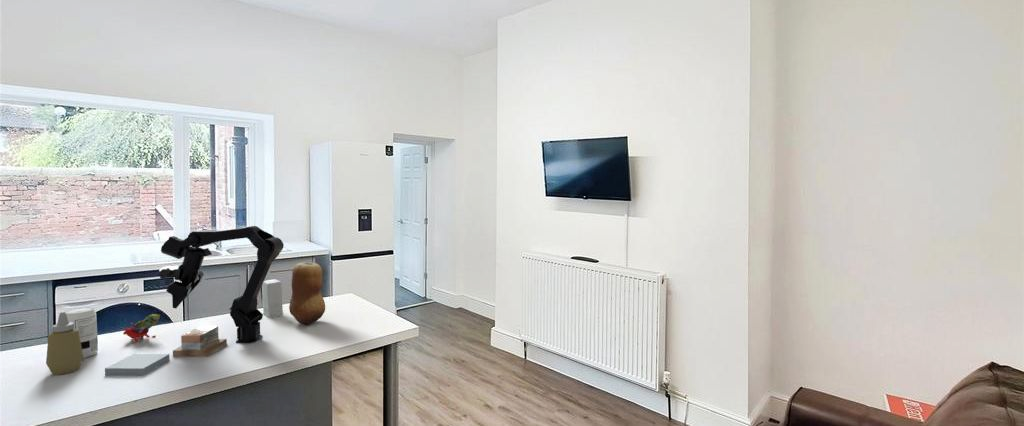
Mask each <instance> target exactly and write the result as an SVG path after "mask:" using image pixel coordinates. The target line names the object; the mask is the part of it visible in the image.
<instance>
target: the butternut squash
mask: <svg viewBox="0 0 1024 426" xmlns="http://www.w3.org/2000/svg"><path fill="white" fill-rule="evenodd" d="M291 275H292V276H291V291H292V292H291V298H290V301H289V305H288V309H289V314H290V315H291V316H292V317H293V318H294V319H295V320H296V322H297V323H299V324H300V325H302V326H309V325H312V324H313V323H315V322H317V321H318V320H319V319H321V318H322V317H323V315H324V314H325V312H326V302H325V299H324V297H323V295H322V286H323V278H324V277H323V269H322V267H321V265H320V264H319V263H316V262H298V263H296V264H295V266H293V268H292V271H291Z"/></svg>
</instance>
